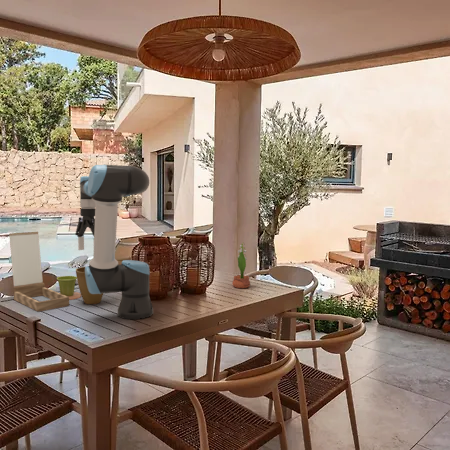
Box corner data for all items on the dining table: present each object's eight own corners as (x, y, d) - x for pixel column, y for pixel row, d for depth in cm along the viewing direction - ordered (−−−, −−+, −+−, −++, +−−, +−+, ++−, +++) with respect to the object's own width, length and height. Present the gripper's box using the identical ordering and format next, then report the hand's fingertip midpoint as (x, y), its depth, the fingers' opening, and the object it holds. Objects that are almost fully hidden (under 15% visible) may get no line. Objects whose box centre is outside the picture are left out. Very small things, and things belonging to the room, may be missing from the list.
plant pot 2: (68, 303, 210) (68, 269, 208) (92, 296, 223) (91, 264, 221) (92, 308, 203) (92, 273, 201) (115, 301, 216) (115, 268, 214)
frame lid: (38, 231, 224) (37, 231, 225) (9, 233, 214) (8, 233, 215) (42, 282, 224) (41, 282, 224) (14, 286, 214) (13, 286, 214)
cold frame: (69, 305, 206) (69, 292, 206) (38, 311, 196) (37, 298, 195) (43, 294, 224) (43, 282, 224) (13, 299, 214) (13, 287, 214)
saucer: (86, 297, 222) (86, 295, 222) (60, 301, 212) (60, 300, 212) (73, 292, 231) (73, 290, 231) (48, 296, 221) (48, 294, 221)
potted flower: (230, 284, 258) (231, 240, 255) (248, 284, 259) (249, 241, 256) (233, 289, 246) (234, 243, 243) (251, 289, 247) (252, 243, 244)
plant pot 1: (80, 293, 226) (80, 276, 225) (72, 298, 217) (72, 280, 216) (62, 292, 227) (62, 275, 226) (53, 297, 217) (53, 279, 217)
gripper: (109, 208, 215) (109, 253, 217) (81, 207, 231) (81, 248, 233) (95, 209, 209) (96, 254, 211) (67, 207, 226) (68, 249, 227)
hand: (88, 251), depth 222 cm, fingers open, 13 cm apart
